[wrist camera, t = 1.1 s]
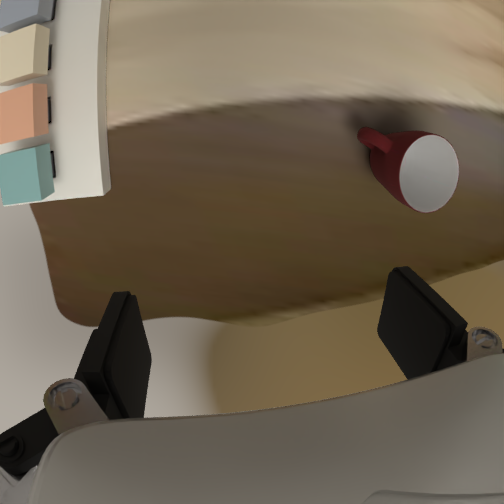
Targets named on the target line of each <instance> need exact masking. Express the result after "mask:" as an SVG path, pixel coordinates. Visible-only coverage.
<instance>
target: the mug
mask: <svg viewBox="0 0 504 504" xmlns="http://www.w3.org/2000/svg"><path fill="white" fill-rule="evenodd" d="M357 138H358V140H359V141H360V142H361V143H363V144H364V145H366V146H367V147H369V148H370V149H371V152H370V165H371V169H372V172H373V174H374V176H375V177H376V179H377V180H378V181H379V182H380V183H381V184H382V185H383V186H384V187H385V188H386V189H387V190H388V191H389V192H390V193H391V194H392V195H393V196H394V197H395V198H396V199H397V200H398V201H400V202H401V203H403V204H404V205H406V206H408V207H409V208H411V209H413V210H415V211H418V212H421V213H431V212H434V211H437V210H439V209H440V208H442V207H443V206H444V205H445V204H446V203H447V202H448V201H449V200H450V198H451V197H452V195H453V194H454V192H455V189H456V187H457V183H458V179H459V162H458V157H457V154H456V152H455V150H454V148H453V146H452V145H451V144H450V143H449V141H447V140H446V139H445V138H443V137H442V136H439V135H436V134H433V133H429V132H424V131H406V132H397V133H391V134H387V135H383V134H382V133H380V132H378V131H376V130H374V129H371V128H368V127H363V128H361V129H360V130H359V132H358V134H357Z"/></svg>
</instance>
